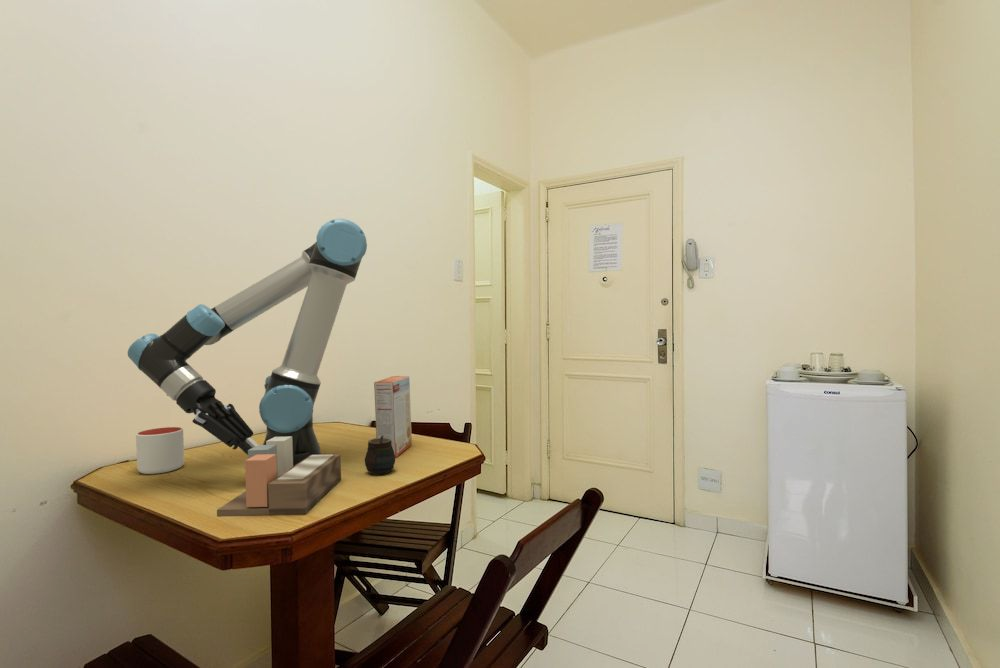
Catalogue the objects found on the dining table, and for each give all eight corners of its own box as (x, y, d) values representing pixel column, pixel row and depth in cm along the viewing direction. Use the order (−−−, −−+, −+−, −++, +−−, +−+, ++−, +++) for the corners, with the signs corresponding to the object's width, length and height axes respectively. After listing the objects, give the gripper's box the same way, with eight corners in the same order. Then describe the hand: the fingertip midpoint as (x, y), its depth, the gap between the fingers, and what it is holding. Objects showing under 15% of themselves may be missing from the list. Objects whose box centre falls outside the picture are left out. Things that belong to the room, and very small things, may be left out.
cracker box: (393, 445, 149) (391, 375, 149) (412, 445, 149) (410, 375, 148) (375, 458, 135) (373, 381, 135) (396, 458, 135) (394, 381, 134)
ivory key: (276, 475, 116) (275, 436, 116) (293, 474, 116) (292, 436, 116) (267, 481, 112) (266, 441, 112) (285, 480, 112) (283, 440, 112)
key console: (268, 481, 117) (267, 454, 117) (341, 480, 117) (340, 452, 116) (217, 515, 96) (215, 482, 96) (305, 514, 96) (304, 481, 95)
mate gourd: (389, 466, 127) (388, 427, 127) (400, 473, 121) (400, 432, 121) (361, 471, 123) (360, 431, 123) (371, 479, 117) (371, 436, 117)
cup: (192, 463, 133) (191, 426, 133) (169, 475, 124) (167, 434, 123) (154, 464, 133) (153, 427, 133) (127, 476, 123) (126, 435, 123)
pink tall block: (257, 499, 100) (256, 454, 100) (277, 498, 100) (276, 454, 100) (246, 507, 96) (245, 460, 96) (267, 506, 96) (265, 460, 96)
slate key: (259, 486, 108) (258, 445, 108) (277, 486, 108) (276, 444, 108) (249, 493, 104) (247, 450, 104) (268, 492, 104) (267, 449, 104)
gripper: (196, 398, 120) (267, 465, 120) (158, 407, 107) (239, 482, 107) (217, 375, 120) (289, 442, 120) (182, 382, 107) (262, 457, 107)
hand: (265, 461), depth 114 cm, fingers closed
